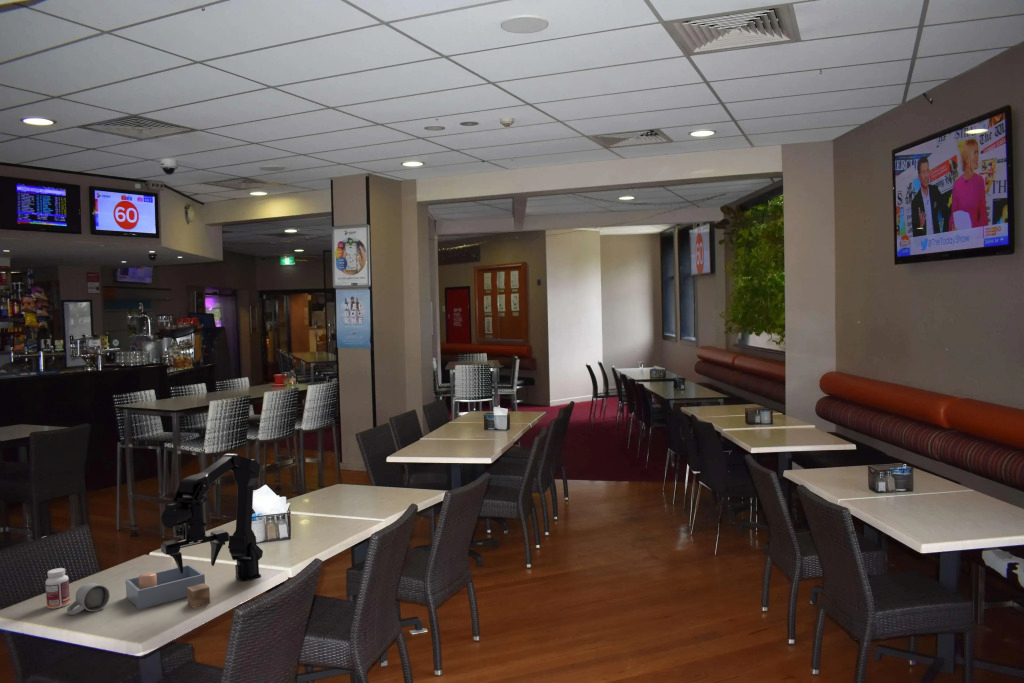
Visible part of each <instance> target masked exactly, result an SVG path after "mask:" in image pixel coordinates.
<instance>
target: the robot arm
mask: <svg viewBox="0 0 1024 683" xmlns="http://www.w3.org/2000/svg"><path fill="white" fill-rule="evenodd" d="M260 470H261V464H260V462H258V460H257V459H251V458H248V457H244V456H241V455H239V454H238V453H225V454H223V455H222V456H221V457H220V458H219V459H218V460H217V461H214V463H212V464H211V465H210V466H207V467H206V468H205V469H204V470H202V471H201V472H198V473H196V474H191V475H189V476H186V477H185V478H183V479H181V480H180V481H179V485H178V486H177V489H176V492H175V494H174V496H173V498H172V501H171V503H169V504H166V506H165V508H166V509H165V510H163V512H162V513H161V516H160V517H161V518H160V520H161V523H162V526H164V527H165V528H167V529H172V528H173V531H172V532H173V537H174V538H179V537H180V540H183V541H178V540H176V539H172V540H167V541H162V543H161V544H160V551H161V553H163V554H164V555H166V556H170V557H171V558H173V560H174V562H175V564H176V567H178V569H179V571H180V573H181V574H183V566H184V564H183V555H182V552H180V551H181V549H182V548H188V547H191V546H195V545H196V546H197V545H200V544H206V543H210V563H211V564H210V565H211V567H214V566H215V564H216V560H217V559H218V555H219V553H220V552H221V549H222V548H223V546H225V545H226V542H228V546H227V549H228V552H229V554H230V557H231V559H232V561H236V564H235V566H234V567H235V578H236V579H238V580H240V581H242V582H245V581H249V580H252V579H257V578H260V577H262V574H261V573H260V568H259V567H260V565H259V560H261V559H262V558H263V555H264V554H263V553H264V551H263V549H262V548H260V547H259V545H258V544H257V537H256V535H255V533H254V530H253V529H252V528H253V502H254V486H255V484H256V482H257V481H258V479H259V478H260ZM229 471H231V472H232V476H233V477H232V478H233V480H234V482H235V483H236V486H237V497H236V519H235V520H236V521H235V530H234V532H233V534H231V535H230V534H229V532H228V531H226V530H224V529H217V530H212V531H211V532H210V534H209V535H207V534H206V526H207V522H206V521H205V520H206V517H205V503H206V502H209V500H210V499H209V498H208V497H206V496H205V495H206V494H207V493H208V492H209V491H210V489H211V485H213V483H215V482H216V481H217V480H218V479H220V478H221V477H222V476H224V475H225V474H226V473H228V472H229ZM181 525H182V526H183V527H182V526H181Z"/></svg>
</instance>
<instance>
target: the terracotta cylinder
mask: <svg viewBox="0 0 1024 683" xmlns="http://www.w3.org/2000/svg"><path fill="white" fill-rule="evenodd" d="M138 577H139V589H140V590H141V589H145V588H149V587H153V586H157V575H156V571H150V572H144V573H142V574H140V575H138Z"/></svg>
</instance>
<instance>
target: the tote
mask: <svg viewBox="0 0 1024 683" xmlns="http://www.w3.org/2000/svg"><path fill="white" fill-rule="evenodd" d="M155 573H156V575H157V586H153V587H149V588H145V589H141V590H140V589H139V576H136V577H131V578H127V579H125V594H126V596H125V597H126V598H127V599H128V600H129V601H130V602H131V603H132V605H134V606H135V607H136V608H137V609H138V610H141V609H145V608H149V607H152V606H156V605H160V604H165V603H168V602H171V601H176V600H179V599H180V600H181V599H184V598H188V595H187V587H191V586H195V585H199V584H203V583H204V584H206V581H205V578H206V576H205V573H203V572H202V571H200V570H199V569H197V568H196V567H194V565H191V564H186V565H183V574H181V573H180V571H179V569H178V566H176V567H173V568H169V569H165V570H161V571H157V572H156V571H155Z"/></svg>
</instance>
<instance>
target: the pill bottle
mask: <svg viewBox="0 0 1024 683" xmlns="http://www.w3.org/2000/svg"><path fill="white" fill-rule="evenodd" d="M47 577H48V578H47V579H46V580H45V583H44V584H45V595H46V596H45V597H46V606H47V608H48V609H51V610H54V609H60V608H64V607H66V606H68V605H70V603H71V595H70V593H71V592H70V582H69V581H70V580H69V579H70V578H69V576H68V575H66V568H63V567H59V568H58V567H57V568H53V569H50V570H48V571H47Z"/></svg>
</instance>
